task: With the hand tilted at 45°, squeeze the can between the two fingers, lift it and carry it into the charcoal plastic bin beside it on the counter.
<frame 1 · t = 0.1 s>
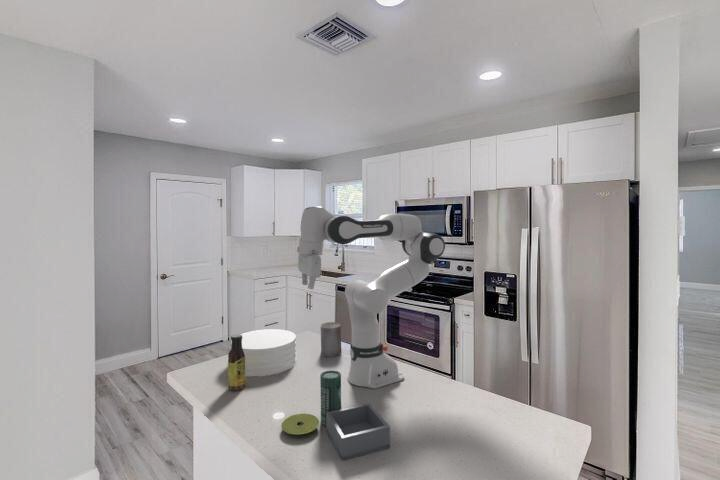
hand: (307, 286, 132), 39 cm above the table, tool pointing down, fingers open, 8 cm apart
sauce bottle: (237, 388, 135), on the table
plate stack: (264, 364, 159), on the table
pillar candle: (330, 353, 171), on the table
mat: (300, 430, 108), on the table
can: (331, 421, 112), on the table
bin: (357, 439, 102), on the table
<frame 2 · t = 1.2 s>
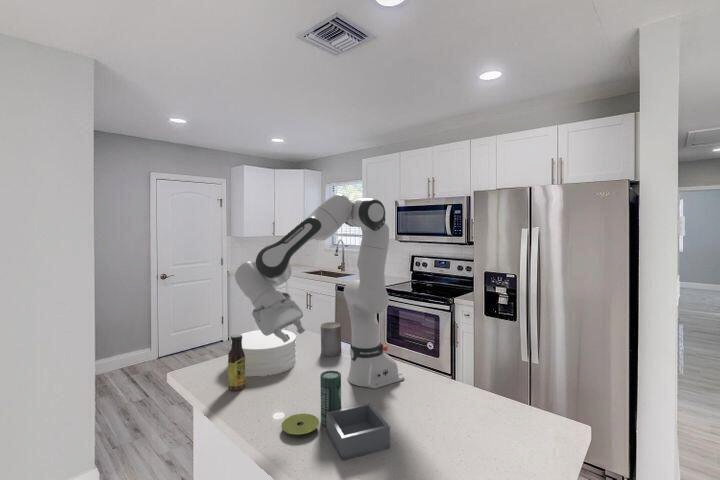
hand: (295, 336, 115), 26 cm above the table, tool tilted 45°, fingers open, 8 cm apart
nothing on the table moved.
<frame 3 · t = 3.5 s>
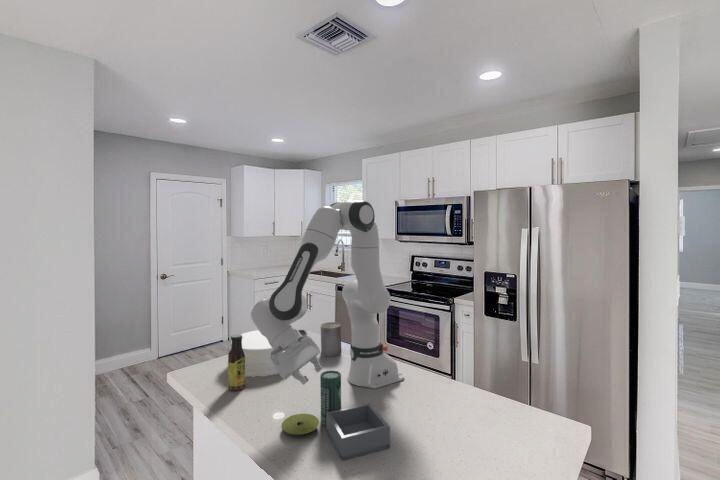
hand: (313, 376, 113), 13 cm above the table, tool tilted 45°, fingers open, 8 cm apart
nothing on the table moved.
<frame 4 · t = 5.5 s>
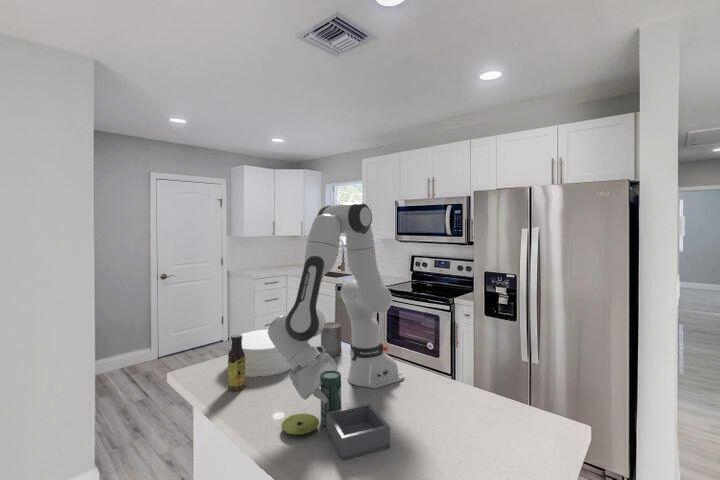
hand: (332, 395, 111), 8 cm above the table, tool tilted 45°, fingers closed on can, 6 cm apart
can: (331, 421, 112), on the table, touching gripper
everything else where it was.
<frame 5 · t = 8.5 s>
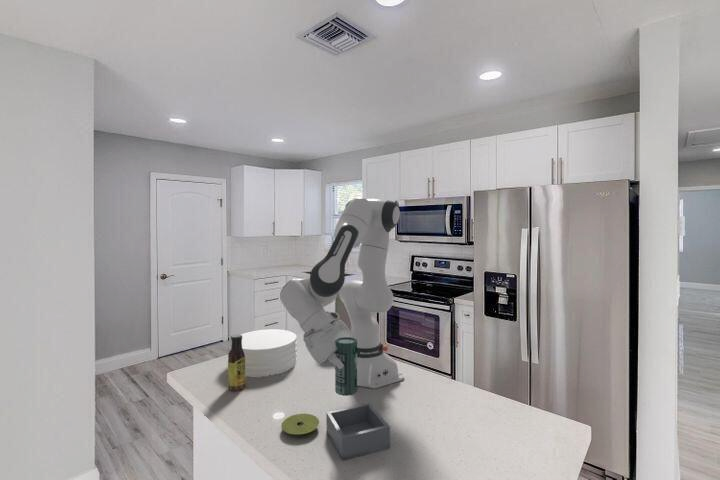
hand: (348, 362, 104), 22 cm above the table, tool tilted 45°, fingers closed on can, 6 cm apart
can: (346, 391, 105), point 13 cm above the table, touching gripper
everything else where it was.
when the fingers open (11 cm above the table, at t = 11.7 s): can drops 1 cm, resting on bin.
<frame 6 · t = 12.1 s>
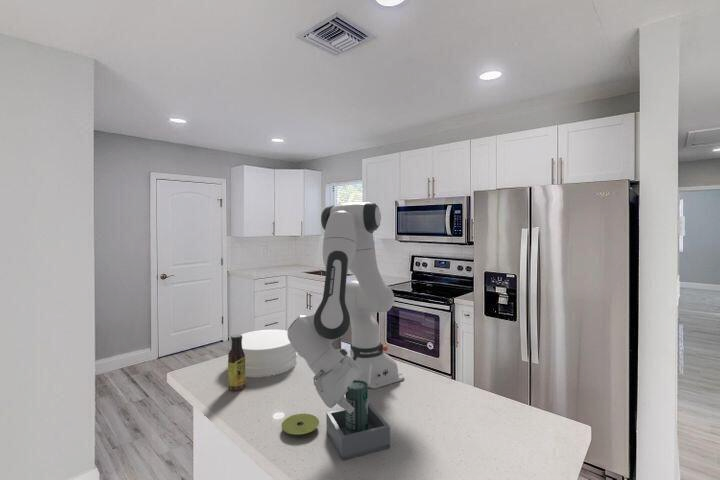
hand: (358, 403, 102), 11 cm above the table, tool tilted 45°, fingers open, 8 cm apart
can: (356, 436, 102), point 1 cm above the table, touching bin
everything else where it was.
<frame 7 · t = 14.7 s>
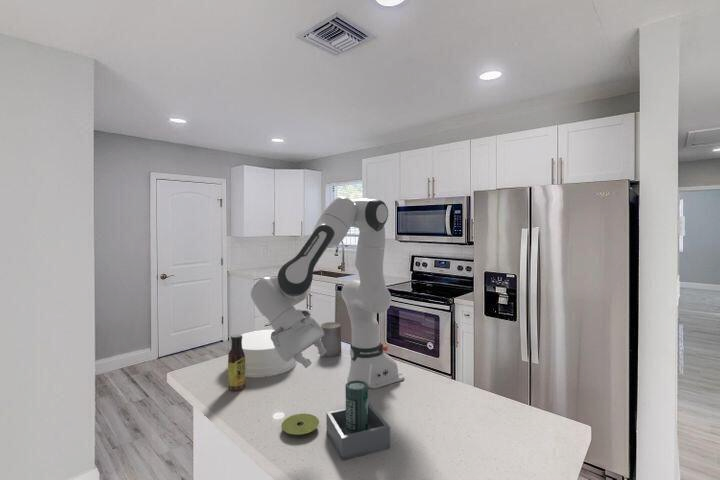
hand: (316, 359, 106), 22 cm above the table, tool tilted 45°, fingers open, 8 cm apart
nothing on the table moved.
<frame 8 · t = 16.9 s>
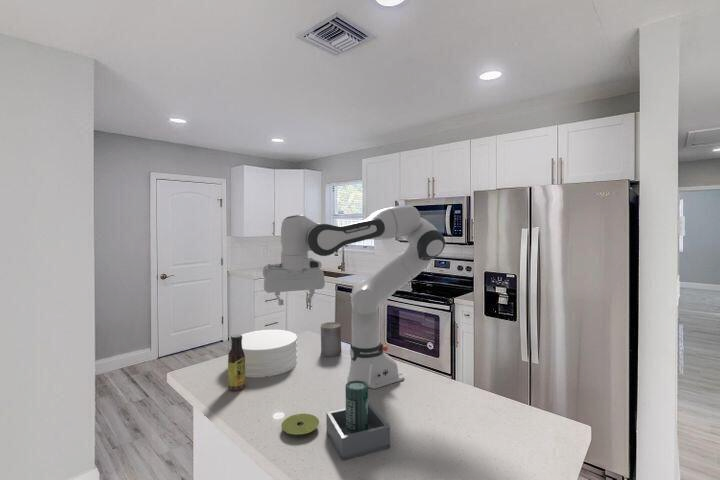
hand: (295, 303, 120), 35 cm above the table, tool pointing down, fingers open, 8 cm apart
nothing on the table moved.
at the end: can inside the target area on the bin (0.1 cm from its centre), point 0.8 cm above the bin's base; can tilted 0°; the gripper is holding nothing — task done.
